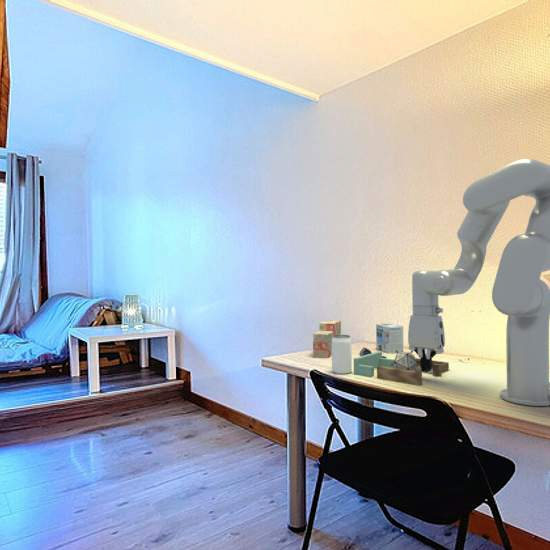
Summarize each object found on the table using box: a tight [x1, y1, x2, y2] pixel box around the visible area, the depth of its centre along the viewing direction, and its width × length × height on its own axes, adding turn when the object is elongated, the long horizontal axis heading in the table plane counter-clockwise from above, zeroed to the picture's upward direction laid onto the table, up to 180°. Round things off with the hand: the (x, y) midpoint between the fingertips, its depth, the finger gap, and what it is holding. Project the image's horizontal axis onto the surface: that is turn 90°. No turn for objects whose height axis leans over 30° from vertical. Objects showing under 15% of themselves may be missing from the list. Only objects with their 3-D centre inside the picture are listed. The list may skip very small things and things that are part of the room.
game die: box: [391, 350, 420, 371], centre depth 141 cm, size 9×8×10 cm
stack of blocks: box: [312, 319, 342, 359], centre depth 182 cm, size 21×6×12 cm, turn 158°
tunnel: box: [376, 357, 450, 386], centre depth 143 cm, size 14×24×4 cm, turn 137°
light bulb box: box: [375, 322, 404, 354], centre depth 183 cm, size 11×7×11 cm, turn 17°
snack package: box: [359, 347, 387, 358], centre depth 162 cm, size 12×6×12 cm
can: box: [331, 334, 353, 375], centre depth 148 cm, size 6×6×12 cm
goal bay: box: [353, 351, 395, 378], centre depth 148 cm, size 6×15×5 cm, turn 137°
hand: (426, 370), depth 136 cm, fingers closed
